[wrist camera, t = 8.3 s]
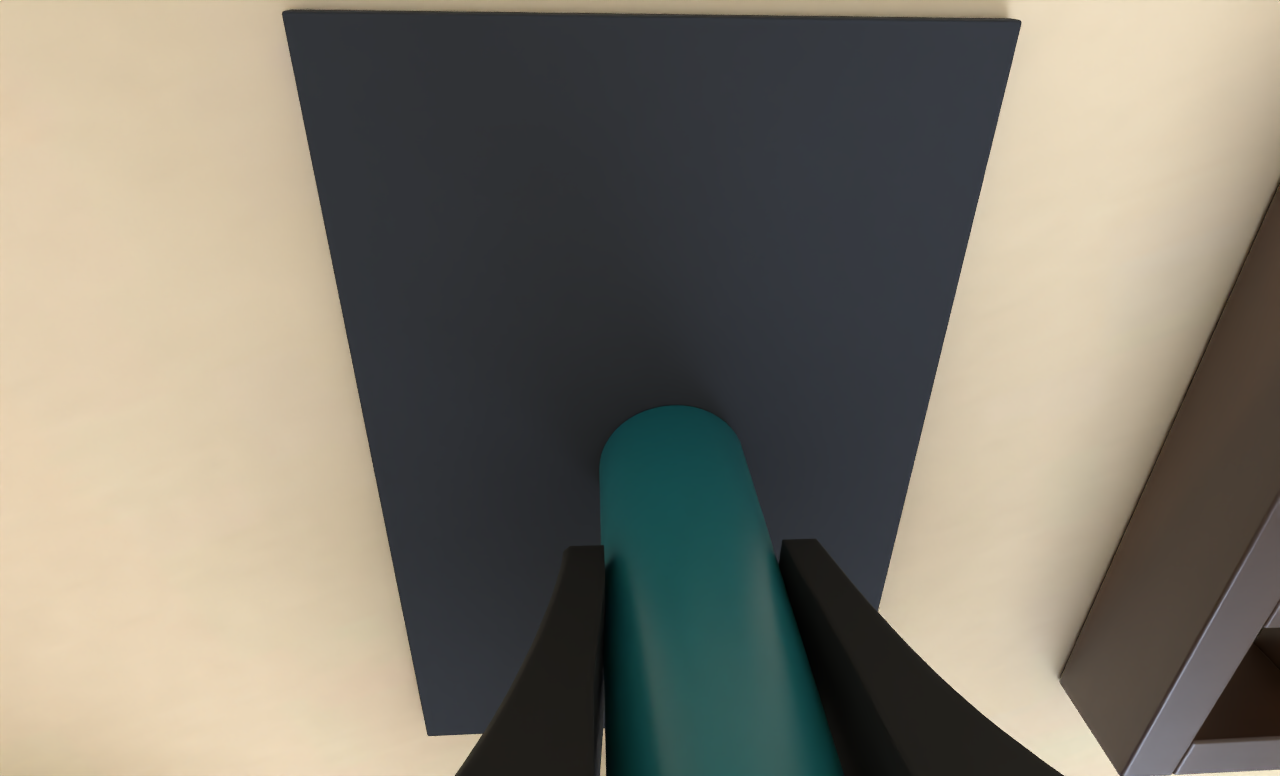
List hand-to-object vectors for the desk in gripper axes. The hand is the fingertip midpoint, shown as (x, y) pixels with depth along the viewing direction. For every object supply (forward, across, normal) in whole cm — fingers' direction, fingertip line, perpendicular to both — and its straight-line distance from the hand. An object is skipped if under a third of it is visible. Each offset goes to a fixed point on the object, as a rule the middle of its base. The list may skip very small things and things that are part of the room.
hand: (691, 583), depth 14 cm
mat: (+4, 0, 0) cm, 4 cm away
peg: (+4, 0, 0) cm, 4 cm away
